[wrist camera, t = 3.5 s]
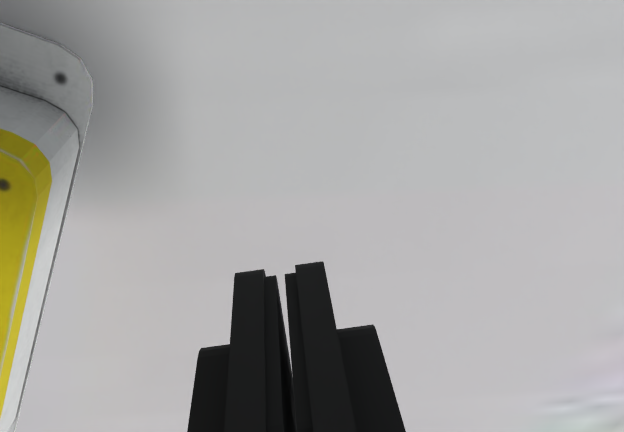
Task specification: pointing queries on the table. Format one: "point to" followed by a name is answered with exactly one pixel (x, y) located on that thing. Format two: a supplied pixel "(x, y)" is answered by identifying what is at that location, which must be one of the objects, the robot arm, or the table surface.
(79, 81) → the emergency button
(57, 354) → the table surface
